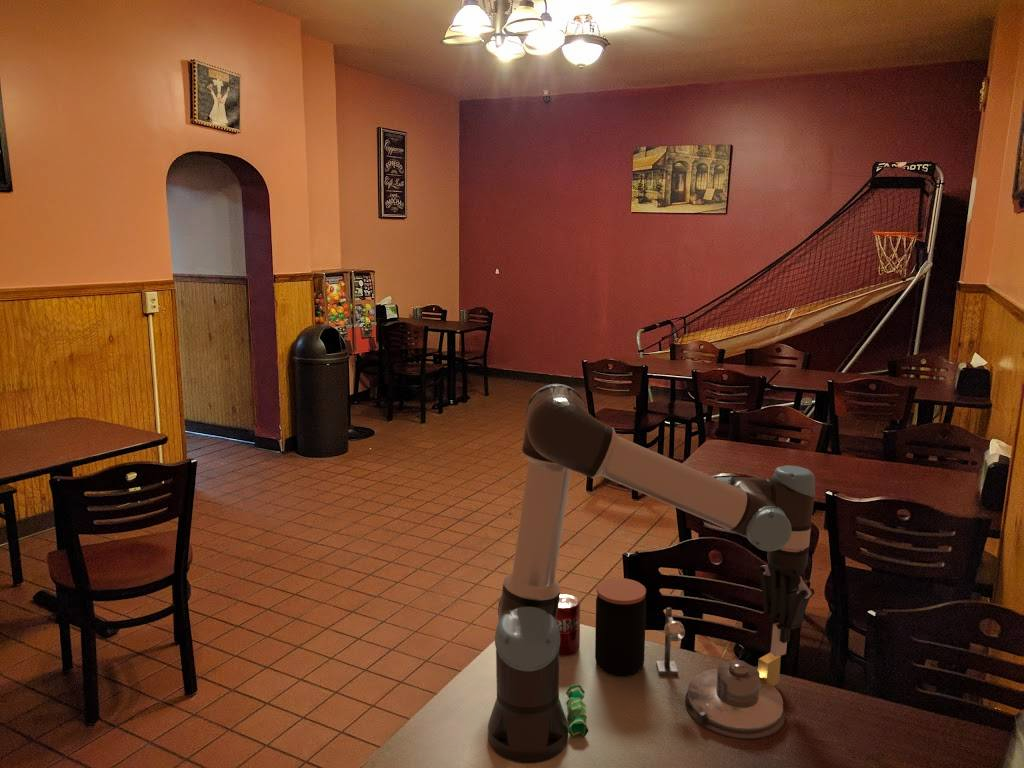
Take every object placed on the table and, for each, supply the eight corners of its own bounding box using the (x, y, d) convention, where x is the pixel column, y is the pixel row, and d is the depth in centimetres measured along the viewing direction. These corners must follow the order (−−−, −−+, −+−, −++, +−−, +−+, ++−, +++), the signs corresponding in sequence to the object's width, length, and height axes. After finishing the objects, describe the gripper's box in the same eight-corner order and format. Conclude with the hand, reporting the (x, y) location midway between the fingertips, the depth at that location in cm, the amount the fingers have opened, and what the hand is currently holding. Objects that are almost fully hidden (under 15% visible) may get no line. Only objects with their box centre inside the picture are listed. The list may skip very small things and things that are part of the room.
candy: (592, 735, 138) (580, 718, 138) (576, 743, 139) (564, 727, 138) (587, 696, 150) (576, 680, 150) (573, 704, 151) (562, 689, 150)
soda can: (545, 641, 172) (545, 594, 169) (576, 639, 172) (576, 592, 170) (550, 659, 165) (550, 609, 162) (582, 657, 165) (583, 607, 163)
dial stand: (663, 689, 153) (665, 623, 150) (656, 664, 162) (658, 601, 159) (682, 689, 153) (685, 623, 150) (674, 664, 162) (676, 601, 159)
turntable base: (696, 739, 138) (696, 736, 138) (676, 679, 157) (677, 677, 156) (799, 740, 137) (799, 737, 137) (767, 680, 156) (767, 677, 156)
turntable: (778, 743, 135) (780, 714, 134) (679, 718, 142) (680, 690, 141) (786, 681, 154) (788, 655, 153) (699, 662, 161) (700, 637, 160)
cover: (755, 712, 141) (757, 680, 140) (712, 701, 144) (714, 670, 143) (761, 689, 148) (762, 659, 147) (720, 679, 151) (721, 650, 150)
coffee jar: (642, 652, 167) (644, 578, 163) (645, 680, 157) (648, 601, 153) (594, 650, 168) (595, 576, 165) (595, 677, 158) (596, 599, 154)
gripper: (828, 554, 141) (817, 666, 146) (778, 529, 153) (769, 634, 157) (799, 560, 138) (788, 675, 143) (750, 535, 150) (741, 641, 154)
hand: (778, 653), depth 150 cm, fingers closed
